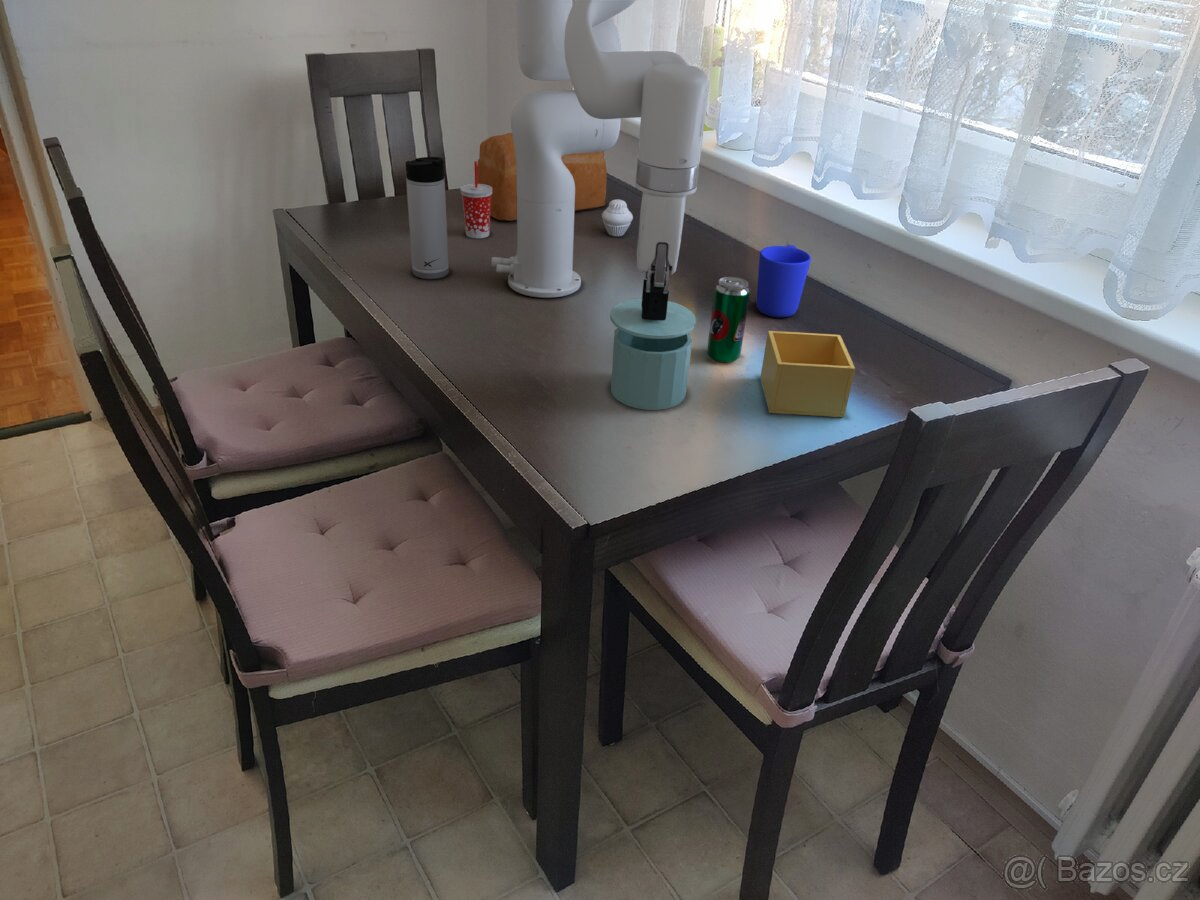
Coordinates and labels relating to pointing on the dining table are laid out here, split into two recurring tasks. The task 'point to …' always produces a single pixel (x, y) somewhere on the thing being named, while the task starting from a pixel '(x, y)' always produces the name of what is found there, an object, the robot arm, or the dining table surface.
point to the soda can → (728, 319)
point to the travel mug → (427, 217)
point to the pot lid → (631, 321)
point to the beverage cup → (476, 208)
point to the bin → (806, 374)
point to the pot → (650, 370)
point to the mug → (781, 280)
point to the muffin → (617, 218)
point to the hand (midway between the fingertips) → (653, 312)
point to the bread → (502, 176)
